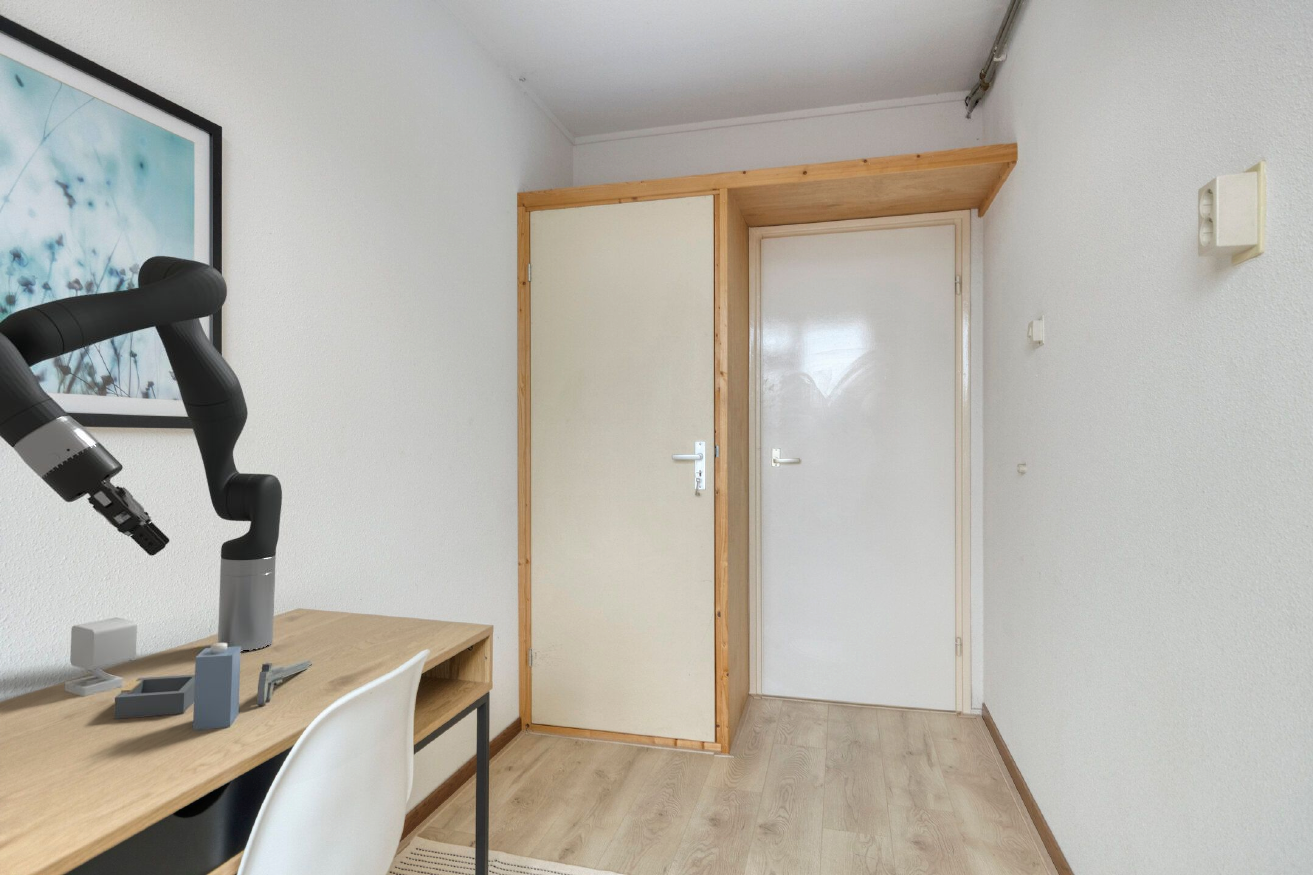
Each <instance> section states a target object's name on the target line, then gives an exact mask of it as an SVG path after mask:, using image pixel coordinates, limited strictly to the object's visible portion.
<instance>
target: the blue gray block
mask: <svg viewBox="0 0 1313 875" xmlns="http://www.w3.org/2000/svg"><path fill="white" fill-rule="evenodd" d="M241 653H242V651H241V646H236V647H227V643H218V642H216V643H215V642H214V643H212V644H210V647H205V648H204V649H203V650H201V651H200V653H199V654H197V655H196V656H195V660H194V662H195V663H194V664H195V665H194V675H195V686H194V702H193V718H192V721H193V722H192V731H199V730H208V729H209V730H210V729H219V728H220V729H221V728H231V726H232V725H233V723H234V722H235V721H236V719H237V718H238V716H239V713H240V712H239V708H240V685H241V683H240V682H241V675H240V674H241V656H242V654H241Z"/></svg>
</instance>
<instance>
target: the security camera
mask: <svg viewBox="0 0 1313 875" xmlns="http://www.w3.org/2000/svg"><path fill="white" fill-rule="evenodd" d="M137 633H138V625H137V622H136V621H134V620H130V619H124V618H120V617H112V618H107V619H101V620H96V621H92V622H91V621H90V622H86V623H80V624H75V625H73V626H71V633H70V634H71V636H70V637H71V638H70V656H69V657H70V659H69V660H70V665H71V666H72V667H77V668H80V669H83V670H85V671H86V672H88V673H90V674H91V675H90V676H89V675H88V676H85V677H81V678H77V679H73V680H69V681H65V682H64V691H65V692H68V693H71V694H75V695H78V696H81V697H87V696H91V695H94V694H97V693H103V692H105V691H110V690H114V689H116V688H121V687H123V685H124V684H123V682H124V677H121V676H117V675H114V674H110V673H107V672H105V670H103V669H101V668H102V667H106V666H110V665H114V664H119V663H124V662H127V661H131V662H132V661H135V659H136V658H137V657H136V656H137Z"/></svg>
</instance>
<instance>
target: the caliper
mask: <svg viewBox="0 0 1313 875" xmlns="http://www.w3.org/2000/svg"><path fill="white" fill-rule="evenodd" d="M312 665H313V662H311V659H304V660H300V661H297V662H295V663H291V664H289V665H288V664H287V665H285V666H282V665H281V666H274V667H273V662H266V663H262V665H261V671H260V672H259V676H258V681H257V682H258V683H257V702H256V704H257V706H266V703H270V702H271V701H272V700H271V699H272V695H273V691H274V686H279V685H281V684H282V683H283V679H284V678H287V677H289V676H292V675H295V674H297V673H300V672H303V671H306V670H307V669H308V667H309V668H310V667H311V666H312Z"/></svg>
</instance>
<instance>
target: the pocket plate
mask: <svg viewBox="0 0 1313 875" xmlns="http://www.w3.org/2000/svg"><path fill="white" fill-rule="evenodd" d="M194 686H195V674H185V675H184V674H182V675H170V676H169V675H167V676H153V677H151V676H150V677H149V676H147V677H138V678H137V679H136V680H134V681H133V680H132V681H131V682H130V683H129V684H128V685H126V686H125V687H124V688H122V689H121V691H120V693H119V694H117V695H116V696H115V697H114V713H113V714H114V717H113V719H116V720H117V719H128V718H141V717H154V716H165V715H166V716H167V715H180V714H181V715H182V714H184V713H186V711H187V710H188V709H189V708H190V707H191V705H193V704H194Z"/></svg>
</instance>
